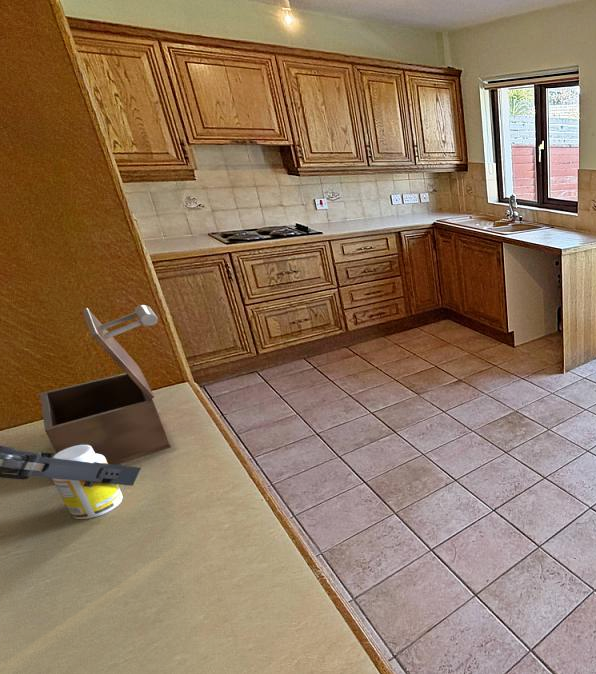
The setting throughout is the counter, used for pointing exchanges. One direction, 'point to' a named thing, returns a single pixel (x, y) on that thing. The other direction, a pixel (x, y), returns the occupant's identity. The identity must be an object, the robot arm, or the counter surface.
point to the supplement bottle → (83, 498)
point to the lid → (113, 346)
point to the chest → (104, 419)
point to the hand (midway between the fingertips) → (115, 474)
